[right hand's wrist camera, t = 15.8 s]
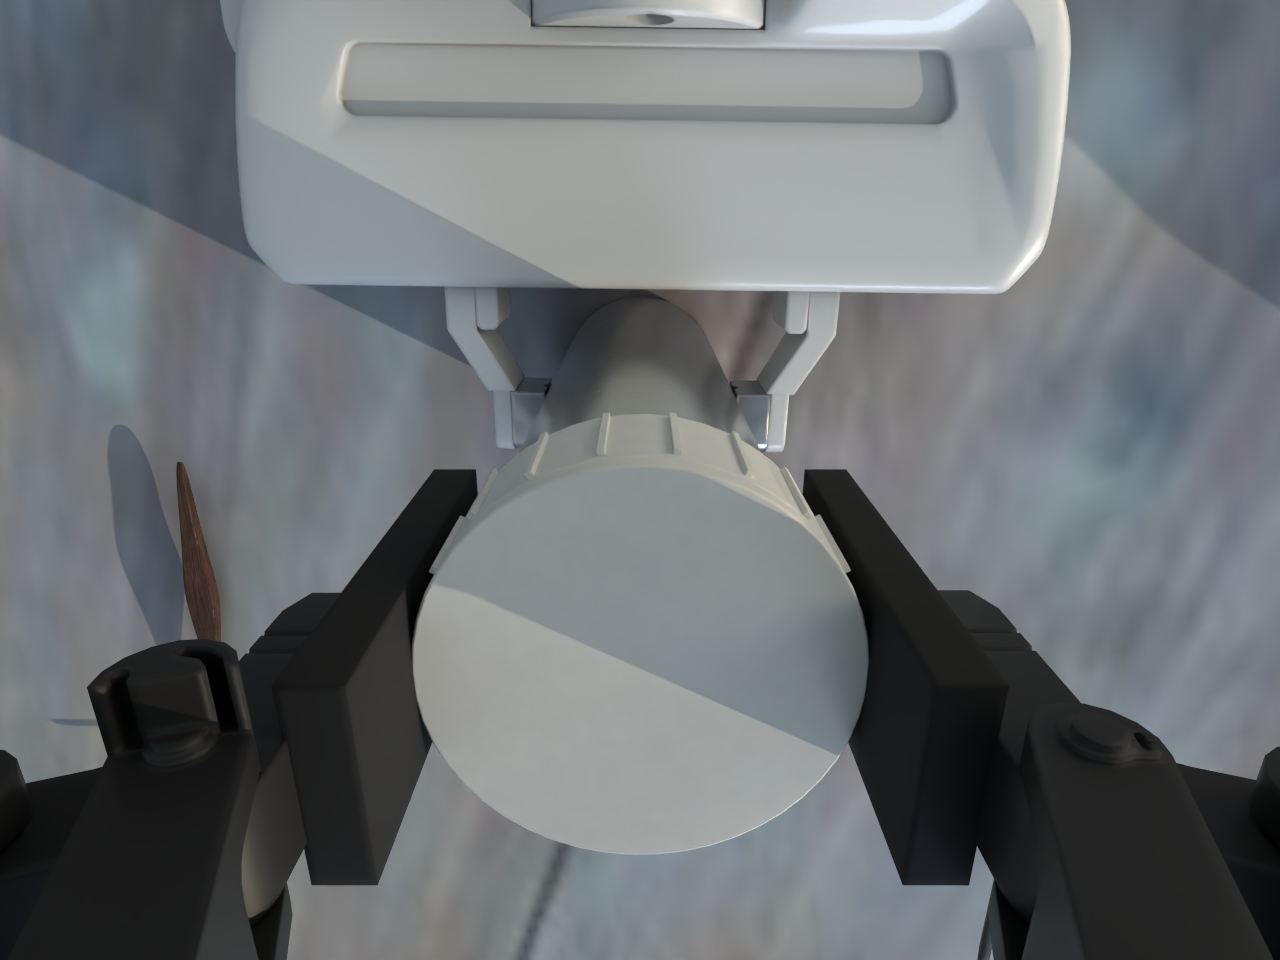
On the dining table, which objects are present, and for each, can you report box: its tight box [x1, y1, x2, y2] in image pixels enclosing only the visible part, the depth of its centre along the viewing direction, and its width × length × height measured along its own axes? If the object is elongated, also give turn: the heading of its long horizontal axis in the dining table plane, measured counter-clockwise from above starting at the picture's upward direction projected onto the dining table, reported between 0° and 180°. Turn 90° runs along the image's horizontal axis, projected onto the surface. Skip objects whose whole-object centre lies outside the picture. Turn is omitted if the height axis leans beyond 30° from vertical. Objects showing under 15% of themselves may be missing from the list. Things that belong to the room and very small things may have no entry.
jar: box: [519, 297, 761, 453], centre depth 19 cm, size 5×5×19 cm
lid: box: [412, 412, 869, 854], centre depth 11 cm, size 6×6×2 cm
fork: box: [177, 462, 221, 642], centre depth 31 cm, size 3×16×2 cm, turn 177°
